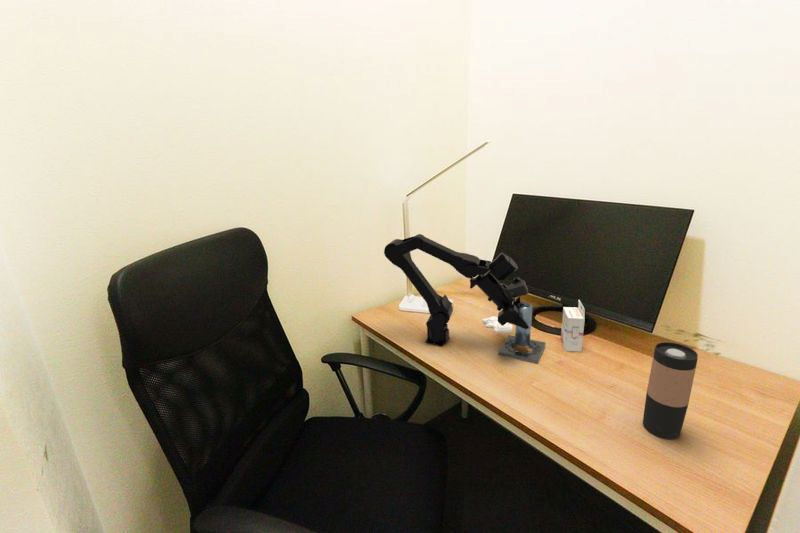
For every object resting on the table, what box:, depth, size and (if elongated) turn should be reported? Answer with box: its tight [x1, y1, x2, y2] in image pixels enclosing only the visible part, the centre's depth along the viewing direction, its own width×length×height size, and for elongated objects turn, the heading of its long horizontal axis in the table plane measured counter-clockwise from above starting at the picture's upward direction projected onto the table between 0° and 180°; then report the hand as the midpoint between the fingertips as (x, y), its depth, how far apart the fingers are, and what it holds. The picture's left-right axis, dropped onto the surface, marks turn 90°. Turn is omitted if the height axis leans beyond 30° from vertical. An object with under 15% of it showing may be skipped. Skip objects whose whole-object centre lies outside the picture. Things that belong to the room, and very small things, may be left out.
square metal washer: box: [497, 334, 546, 365], centre depth 121 cm, size 12×12×1 cm
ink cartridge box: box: [560, 299, 586, 353], centre depth 121 cm, size 9×5×15 cm, turn 168°
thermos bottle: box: [514, 301, 534, 348], centre depth 118 cm, size 5×5×14 cm
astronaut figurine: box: [481, 315, 514, 334], centre depth 138 cm, size 9×12×3 cm
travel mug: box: [642, 341, 699, 440], centre depth 83 cm, size 8×8×20 cm
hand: (527, 324), depth 118 cm, fingers closed on thermos bottle, 5 cm apart
